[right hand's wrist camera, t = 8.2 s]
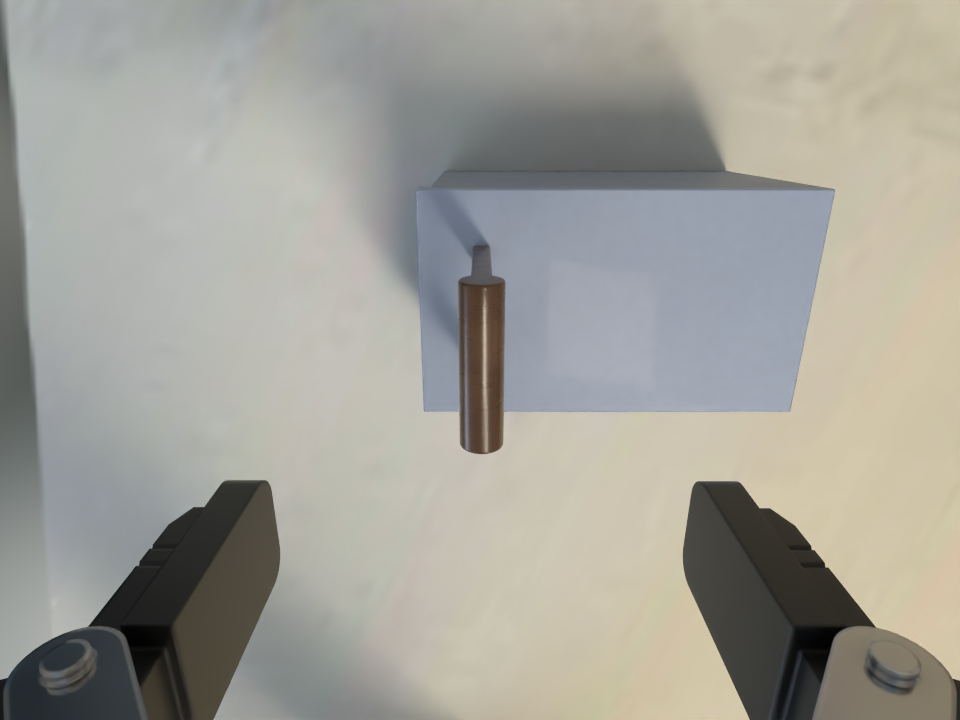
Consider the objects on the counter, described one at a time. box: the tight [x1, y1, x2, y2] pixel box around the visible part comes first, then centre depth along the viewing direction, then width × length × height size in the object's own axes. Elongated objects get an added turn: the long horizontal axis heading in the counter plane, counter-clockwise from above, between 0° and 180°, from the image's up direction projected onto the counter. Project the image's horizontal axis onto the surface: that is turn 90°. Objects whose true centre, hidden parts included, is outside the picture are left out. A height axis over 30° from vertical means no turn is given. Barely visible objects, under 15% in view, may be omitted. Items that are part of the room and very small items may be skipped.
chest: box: [431, 171, 818, 187], centre depth 31 cm, size 16×10×10 cm, turn 90°
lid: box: [416, 187, 835, 454], centre depth 22 cm, size 16×10×8 cm, turn 90°
